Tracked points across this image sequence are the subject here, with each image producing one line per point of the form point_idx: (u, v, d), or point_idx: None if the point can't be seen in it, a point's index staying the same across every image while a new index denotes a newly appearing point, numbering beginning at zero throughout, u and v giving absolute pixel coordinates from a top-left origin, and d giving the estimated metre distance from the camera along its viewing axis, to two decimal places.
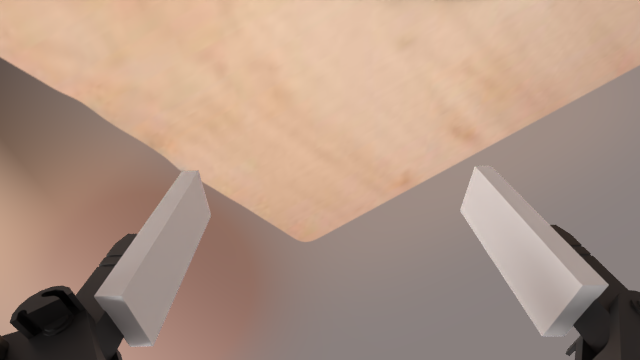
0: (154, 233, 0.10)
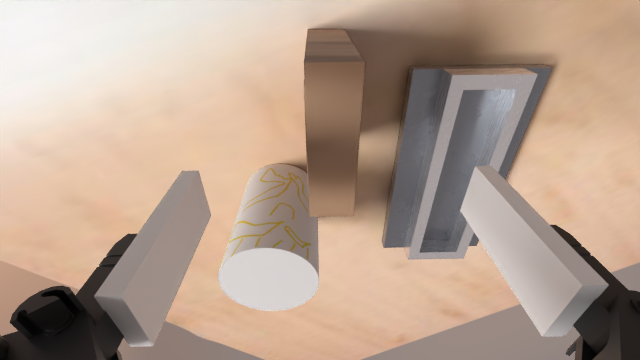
0: (154, 233, 0.10)
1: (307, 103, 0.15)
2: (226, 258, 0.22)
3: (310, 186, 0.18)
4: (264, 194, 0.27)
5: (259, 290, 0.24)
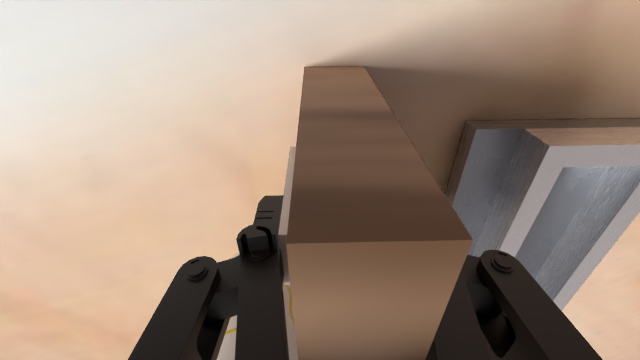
0: None
1: (298, 317, 0.06)
2: None
3: None
4: None
5: None
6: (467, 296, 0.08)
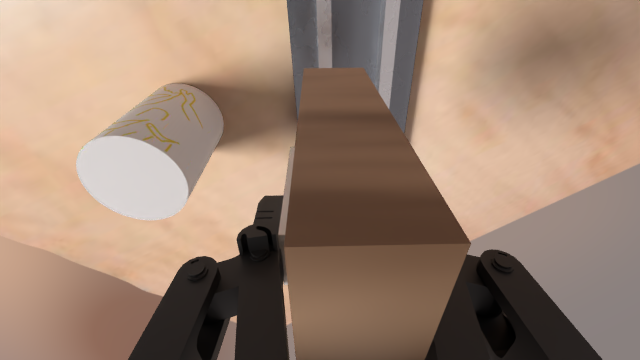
0: None
1: (297, 320, 0.06)
2: None
3: None
4: (143, 103, 0.26)
5: (128, 193, 0.23)
6: (467, 296, 0.08)
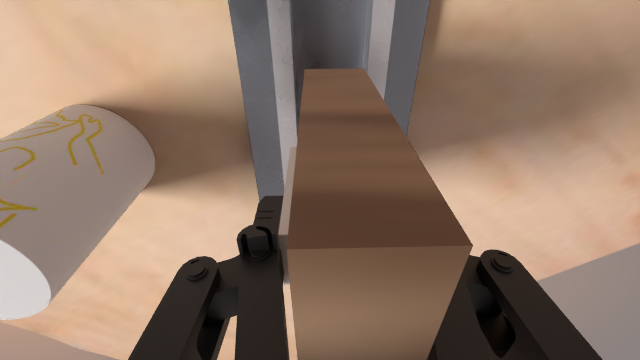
0: None
1: (299, 321, 0.06)
2: None
3: None
4: (6, 137, 0.17)
5: None
6: (467, 297, 0.08)
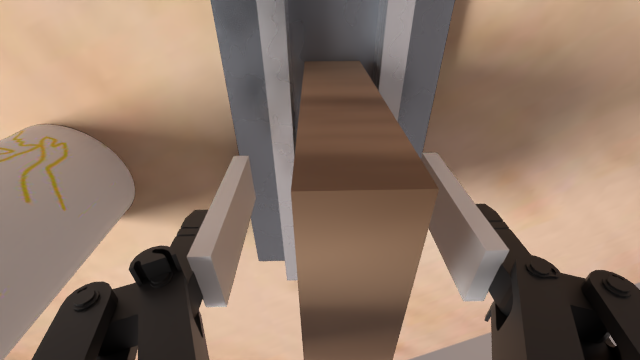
0: (224, 207, 0.11)
1: (300, 260, 0.07)
2: None
3: None
4: None
5: None
6: (571, 326, 0.07)
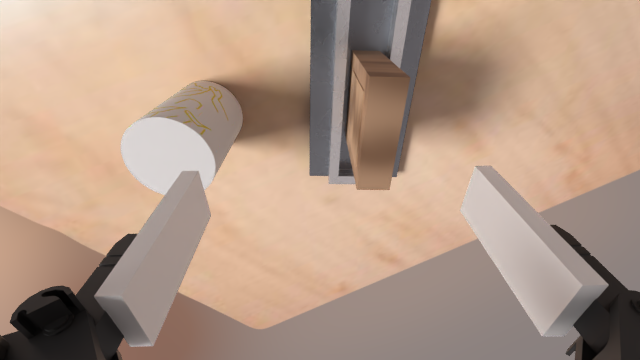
0: (154, 233, 0.10)
1: (368, 104, 0.22)
2: None
3: (361, 165, 0.25)
4: (178, 94, 0.30)
5: (161, 170, 0.27)
6: None
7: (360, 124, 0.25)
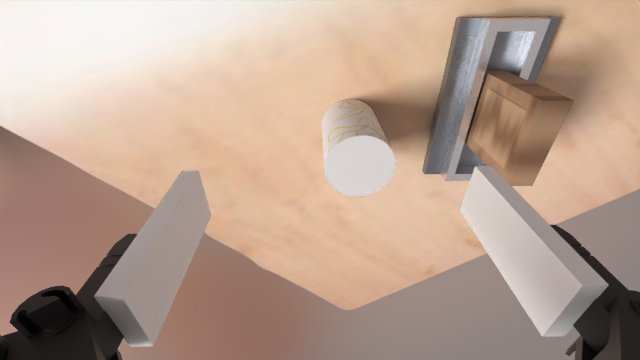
0: (154, 233, 0.10)
1: (535, 121, 0.29)
2: (333, 146, 0.32)
3: (515, 167, 0.32)
4: (348, 113, 0.36)
5: (350, 175, 0.34)
6: None
7: (517, 135, 0.32)
